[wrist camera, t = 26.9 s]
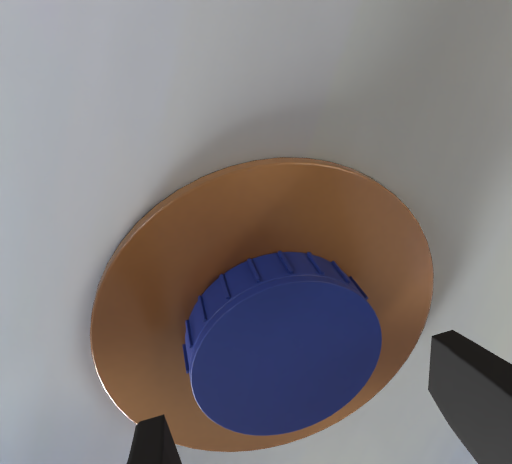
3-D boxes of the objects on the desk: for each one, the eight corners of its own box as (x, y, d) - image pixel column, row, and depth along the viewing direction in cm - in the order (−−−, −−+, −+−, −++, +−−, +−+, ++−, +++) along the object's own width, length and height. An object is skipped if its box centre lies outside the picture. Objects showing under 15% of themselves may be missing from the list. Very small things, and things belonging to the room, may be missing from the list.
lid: (357, 228, 13) (384, 255, 11) (362, 369, 16) (384, 404, 14) (162, 277, 12) (165, 312, 11) (203, 417, 15) (210, 459, 13)
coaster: (395, 412, 18) (401, 422, 18) (114, 466, 16) (113, 479, 15) (459, 148, 13) (470, 154, 13) (61, 166, 11) (59, 173, 10)
